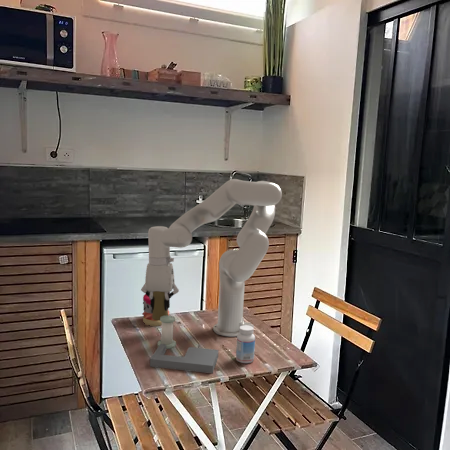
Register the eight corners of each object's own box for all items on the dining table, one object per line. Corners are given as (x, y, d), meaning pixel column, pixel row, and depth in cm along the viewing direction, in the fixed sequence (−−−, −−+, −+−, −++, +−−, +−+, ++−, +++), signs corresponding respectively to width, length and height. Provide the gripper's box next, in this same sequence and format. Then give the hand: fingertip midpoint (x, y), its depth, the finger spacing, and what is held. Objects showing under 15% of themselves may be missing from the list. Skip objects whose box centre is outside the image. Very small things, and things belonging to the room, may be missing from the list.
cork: (165, 321, 165) (165, 291, 164) (149, 319, 167) (149, 290, 165) (170, 315, 171) (170, 286, 169) (155, 313, 172) (154, 285, 171)
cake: (171, 318, 188) (172, 282, 185) (165, 327, 177) (166, 290, 175) (146, 316, 189) (147, 280, 186) (139, 325, 178) (139, 288, 176)
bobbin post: (177, 342, 164) (178, 315, 162) (173, 349, 158) (174, 322, 156) (160, 340, 165) (161, 314, 163) (155, 348, 158) (156, 320, 157)
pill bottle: (255, 357, 155) (257, 326, 153) (250, 365, 149) (253, 332, 147) (238, 354, 157) (240, 323, 155) (233, 361, 151) (235, 329, 149)
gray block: (218, 356, 154) (218, 349, 154) (212, 373, 142) (212, 365, 142) (160, 350, 156) (160, 343, 156) (150, 366, 144) (150, 359, 144)
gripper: (184, 259, 168) (184, 306, 171) (140, 257, 170) (141, 304, 173) (179, 264, 161) (180, 313, 164) (133, 262, 163) (134, 311, 166)
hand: (160, 308), depth 168 cm, fingers closed on cork, 4 cm apart
